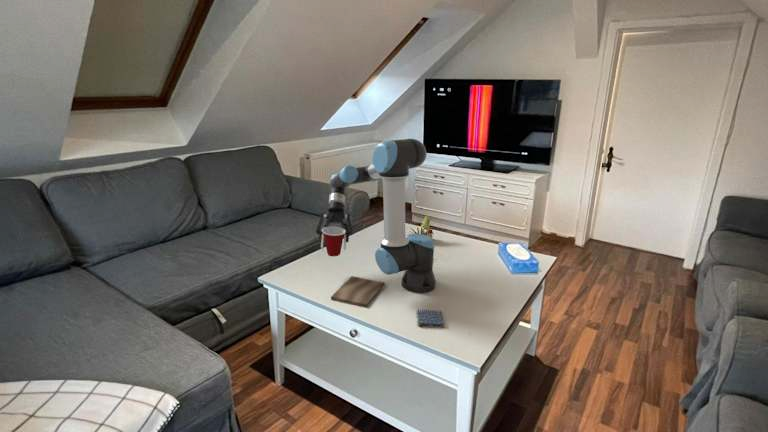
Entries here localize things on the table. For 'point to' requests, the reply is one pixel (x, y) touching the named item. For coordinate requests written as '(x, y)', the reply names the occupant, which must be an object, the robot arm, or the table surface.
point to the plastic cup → (333, 239)
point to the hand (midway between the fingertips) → (333, 248)
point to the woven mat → (430, 318)
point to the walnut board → (358, 291)
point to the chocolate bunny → (427, 226)
